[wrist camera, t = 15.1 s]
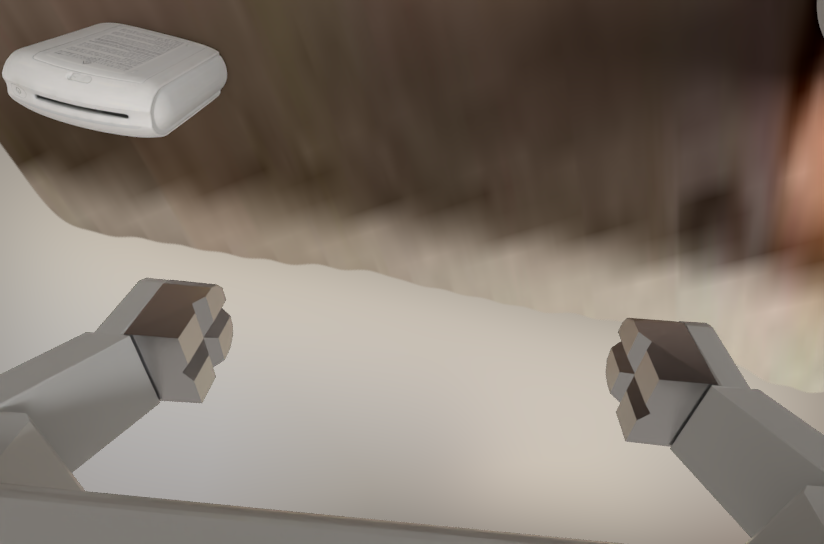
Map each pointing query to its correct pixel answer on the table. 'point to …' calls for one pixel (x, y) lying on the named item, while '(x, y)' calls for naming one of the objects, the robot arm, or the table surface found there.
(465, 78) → the table surface
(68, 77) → the photo printer
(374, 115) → the table surface
